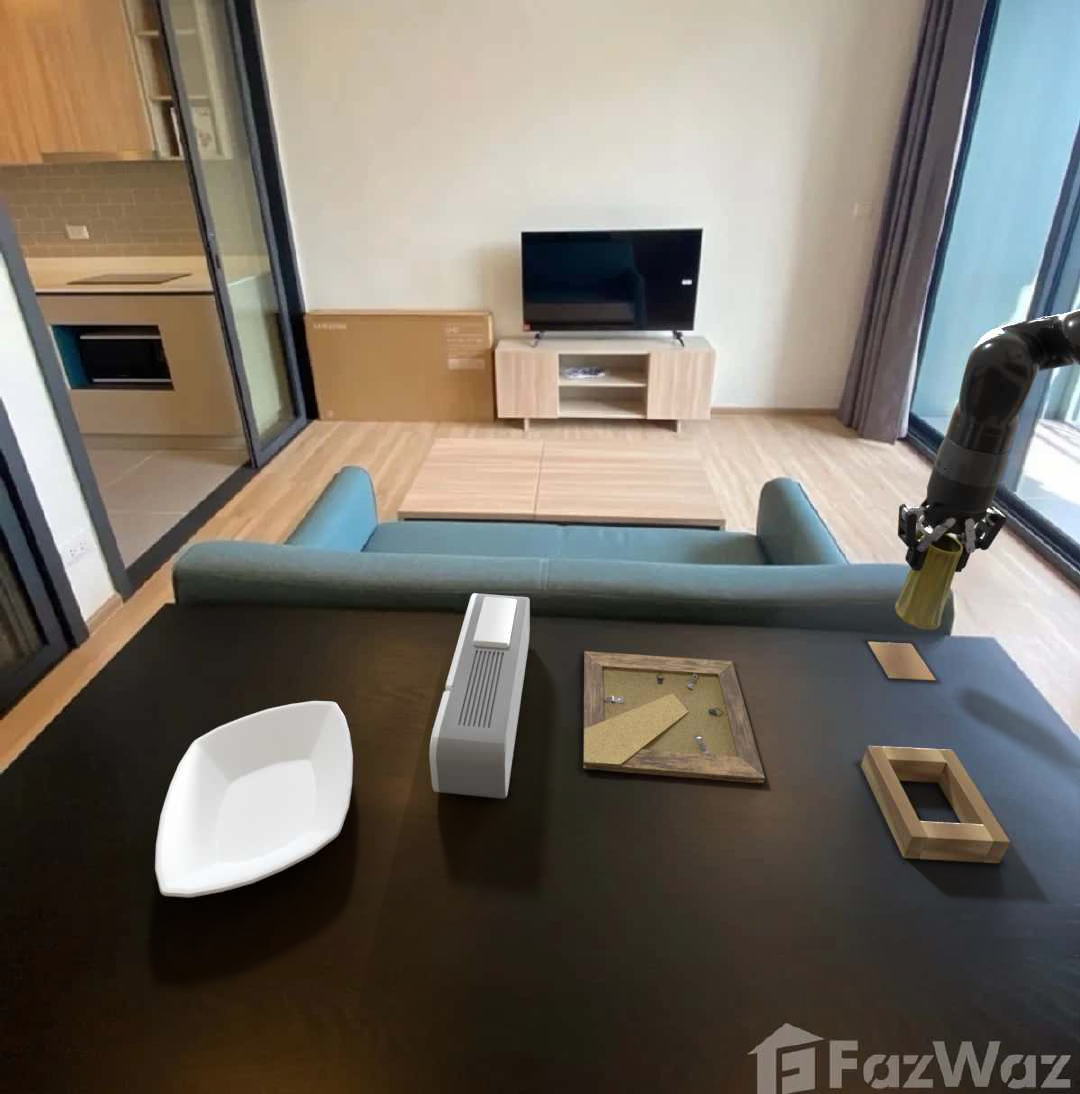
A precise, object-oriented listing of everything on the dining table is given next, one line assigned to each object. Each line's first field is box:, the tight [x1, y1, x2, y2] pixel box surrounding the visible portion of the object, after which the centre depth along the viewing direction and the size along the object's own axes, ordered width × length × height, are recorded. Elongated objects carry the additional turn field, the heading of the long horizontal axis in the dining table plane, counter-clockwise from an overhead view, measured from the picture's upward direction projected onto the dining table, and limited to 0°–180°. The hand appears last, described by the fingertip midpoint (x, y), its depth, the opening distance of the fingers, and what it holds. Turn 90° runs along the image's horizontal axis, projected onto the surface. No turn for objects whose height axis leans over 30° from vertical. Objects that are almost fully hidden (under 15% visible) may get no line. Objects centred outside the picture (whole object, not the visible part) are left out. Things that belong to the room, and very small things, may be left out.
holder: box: [860, 745, 1011, 864], centre depth 72 cm, size 11×11×4 cm
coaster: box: [867, 641, 937, 682], centre depth 94 cm, size 7×7×1 cm
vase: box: [894, 533, 963, 631], centre depth 88 cm, size 6×6×14 cm
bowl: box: [154, 700, 354, 899], centre depth 72 cm, size 22×22×5 cm
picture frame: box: [582, 650, 766, 784], centre depth 85 cm, size 19×2×24 cm
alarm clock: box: [428, 593, 531, 800], centre depth 83 cm, size 27×9×12 cm, turn 175°
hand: (933, 567), depth 87 cm, fingers closed on vase, 5 cm apart
